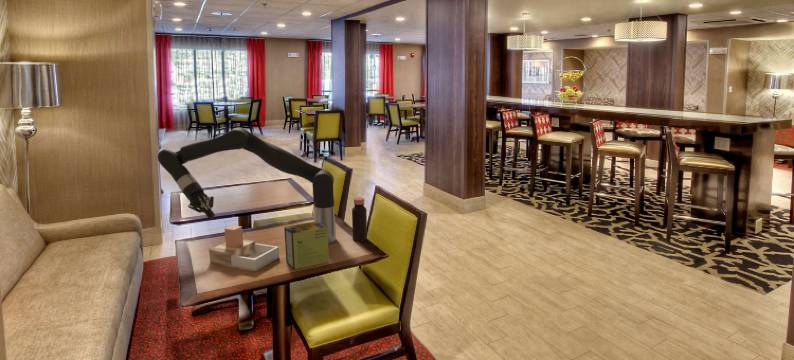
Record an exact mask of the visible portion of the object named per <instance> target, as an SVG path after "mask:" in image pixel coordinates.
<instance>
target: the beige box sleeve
mask: <svg viewBox="0 0 794 360" xmlns="http://www.w3.org/2000/svg"><path fill="white" fill-rule="evenodd" d="M255 243H256V240H251V239H246V238H243V245H241V246H239V247H237V248H231V247H226V242H223V243H221V244H219V245H217V246H214V247H212V248H210V249H208V253H209V254H208V255H209V262H210V264H212V265H219V266H223V267H228V268H229V267H230V268H233V267H232V265H231V255H236V256H242V257H248V256H250V255H252V254H254V253H255V245H254V244H255Z"/></svg>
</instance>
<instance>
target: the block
mask: <svg viewBox="0 0 794 360" xmlns="http://www.w3.org/2000/svg"><path fill="white" fill-rule="evenodd" d="M224 238H225V240H224V241H225V242H226V247H231V248H237V247H239V246H241V245H243V239H244V235H243V226H241V225H234V224H231V225H230V226H227V227H225V228H224ZM225 242H224V243H225Z"/></svg>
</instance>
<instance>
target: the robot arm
mask: <svg viewBox="0 0 794 360" xmlns="http://www.w3.org/2000/svg"><path fill="white" fill-rule="evenodd" d="M241 149H242V150H245V151H247V152H250V153H252V154H254V155H256V156H257V157H259V158H260V159H261V160H262V161H264V162H265V163H266V164H268V165H269V166H271V167H272V168H274V169H276V170H278V171H280V172H282V173H285V174H288V175H292V176H297V177H299V178H302V179H304V180H306V181H308V182H309V183H312V200H313V209H314V214H313V215H314V221H319V222H320V223H322V224H324V225H325V226H327V227H328V245H329V244H332V243H334V242H336V239H337V233H336V232H337V231H336V227H337V225H336V219H335V218H336V217H335V198H334V196H335V195H334V182H335V179H334V176H333V174H332V173H331V172H330V171H328V170H327V169H324V168H321V167H318V166H316V165H313V164H310V163H309V162H307V161H305V160H304V159H302V158H300V157H298V156H296V155H295V154H293V153H291V152H289V151H287V150H286V149H284V148H281V147H279V146H276V145H274V144H273V143H270V142H268V141H265V140H263V139H261V138H260V137H258V136H256V135H254V134H253V133H251V132H250V131H249V130H247V129H246V128H243V127H234V128H233V129H231V130H229V131H228V132H226V133H223V134H222V135H220V136H217V137H215V138H211V139H207V140H201V141H198V142H197V141H196V142H193V143H190V144H187V145H183V146H181V147H180V148H179V150H177V151H172V150H170V149H167V148H166V149H162V150H160V151H159V152H158V155H157V161H158V163H159V164H160V165H161V167H162V168H164V170H165V171H166V172H167V173H168V174H169V175H170V176H171V177H172V179H173V181H175V183H176V184H177V186H178V188H179V189H180V191H181V192H182V194H183V195H184V196H185V198H186V199H187V200H188V201H189V204H188V206H187V207H188V208H189V209H190V210H193V211H195V212H197V213H200V214H201V213H202V214H205V216H206V217H207V218H208V220H209V219H210V220H212V219H214V218H215V215H216V214H215V213H214V211H213V210H212V208H213V207H214V200H215V199H214V196H208V194H206V193H205V191H204V189H203V187H202V185H200V183H199V182H198V180H197V179H196V178H195V177H194V176H193V175H192V173H191V171H189V170H188V168H187V167H186V166H185V165H184V164H186V163H188V162H191V161H192V162H193V161H196V160H198V159H201V158H205V157H207V156H209V155H210V156H211V155H213V154H216V153H220V152H221V153H222V152H226V151H227V152H228V151H232V150H233V151H235V150H241Z"/></svg>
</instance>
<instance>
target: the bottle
mask: <svg viewBox="0 0 794 360" xmlns="http://www.w3.org/2000/svg"><path fill="white" fill-rule="evenodd" d="M367 213H368V211H367V208H366V207H365V198H364V197H361V196H360V197H355V198H353V207H352V209H351V219H352V220H351V225H352V227H351V228H352V229H351V230H352V240H353V241H354V240H355V241H354V242H357V241H362V240H365V241H367V240H368V231H367V230H368V220H367V219H368V218H367V215H368V214H367ZM362 242H363V241H362Z"/></svg>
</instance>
